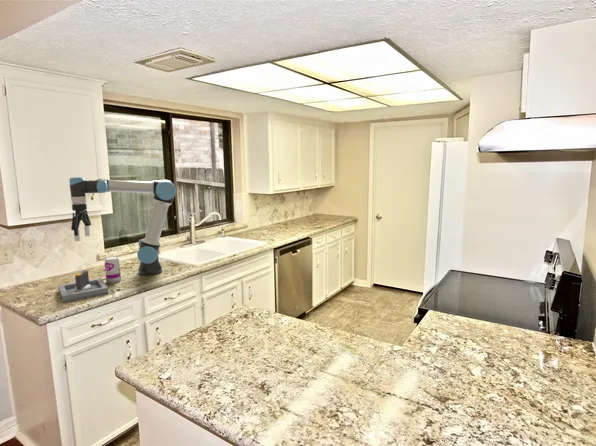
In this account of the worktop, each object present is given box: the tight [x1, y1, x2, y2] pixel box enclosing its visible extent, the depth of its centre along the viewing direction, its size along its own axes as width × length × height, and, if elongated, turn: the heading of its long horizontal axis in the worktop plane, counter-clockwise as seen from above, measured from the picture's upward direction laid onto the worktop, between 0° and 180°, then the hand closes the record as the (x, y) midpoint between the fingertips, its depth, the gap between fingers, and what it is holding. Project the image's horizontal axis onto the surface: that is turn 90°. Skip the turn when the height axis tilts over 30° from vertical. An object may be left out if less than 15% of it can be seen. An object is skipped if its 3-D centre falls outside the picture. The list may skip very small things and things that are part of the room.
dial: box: [74, 270, 91, 292], centre depth 210 cm, size 10×8×10 cm
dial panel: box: [58, 277, 109, 304], centre depth 211 cm, size 22×22×4 cm
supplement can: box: [104, 256, 122, 284], centre depth 229 cm, size 8×8×15 cm
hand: (82, 238), depth 221 cm, fingers open, 13 cm apart
